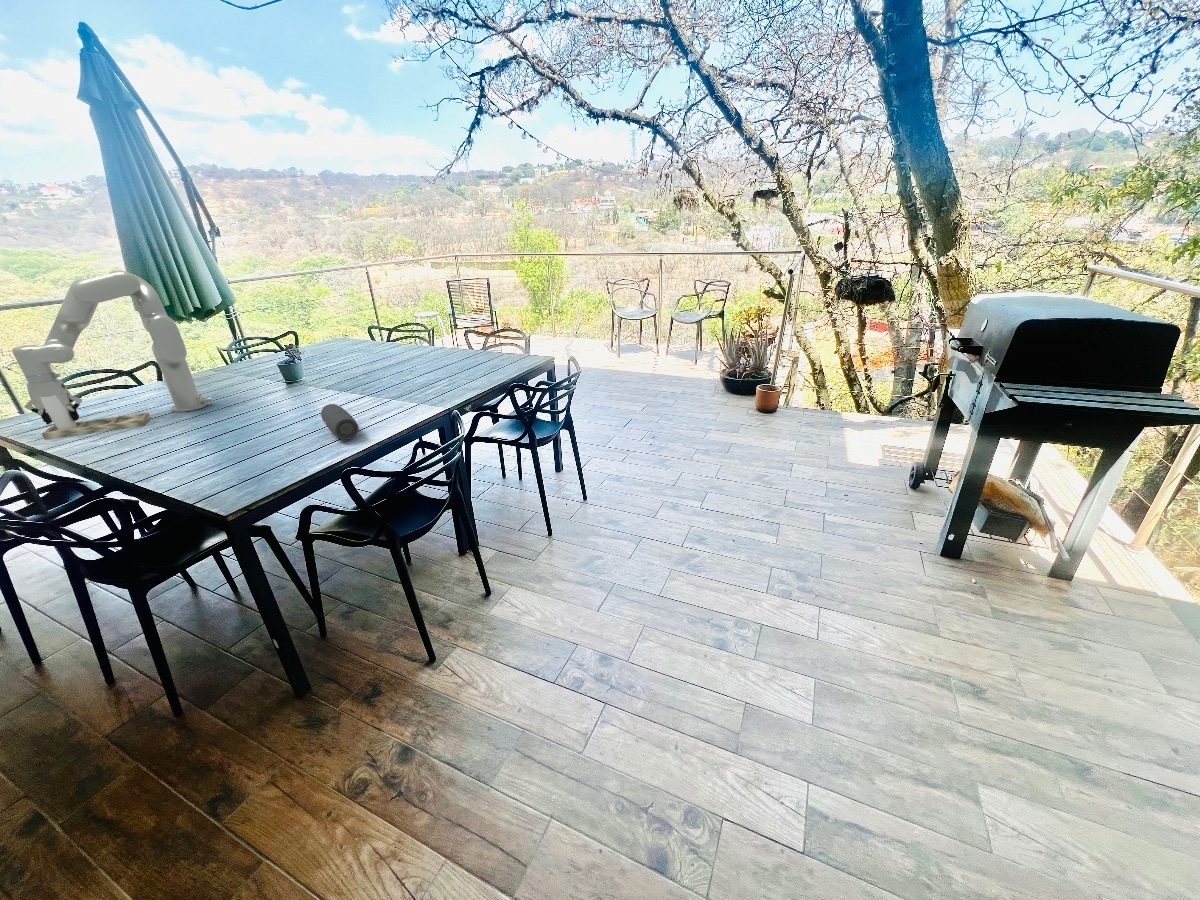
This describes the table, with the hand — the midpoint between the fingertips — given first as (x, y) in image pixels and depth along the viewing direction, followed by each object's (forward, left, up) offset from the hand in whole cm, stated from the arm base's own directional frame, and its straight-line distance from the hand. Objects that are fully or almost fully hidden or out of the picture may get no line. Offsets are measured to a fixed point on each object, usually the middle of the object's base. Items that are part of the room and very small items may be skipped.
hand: (63, 421), depth 190 cm
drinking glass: (0, 0, -4) cm, 4 cm away
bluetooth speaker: (-97, +55, -5) cm, 111 cm away
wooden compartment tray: (-10, 0, -5) cm, 11 cm away
